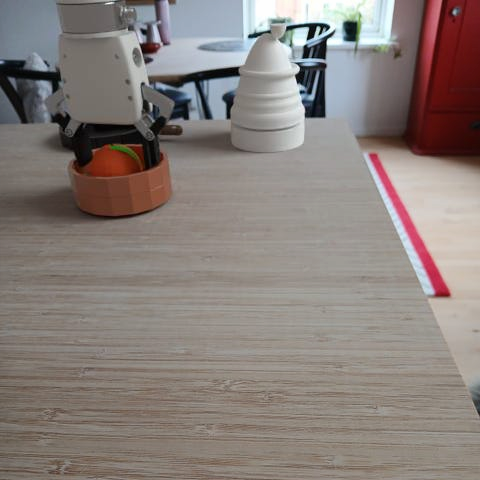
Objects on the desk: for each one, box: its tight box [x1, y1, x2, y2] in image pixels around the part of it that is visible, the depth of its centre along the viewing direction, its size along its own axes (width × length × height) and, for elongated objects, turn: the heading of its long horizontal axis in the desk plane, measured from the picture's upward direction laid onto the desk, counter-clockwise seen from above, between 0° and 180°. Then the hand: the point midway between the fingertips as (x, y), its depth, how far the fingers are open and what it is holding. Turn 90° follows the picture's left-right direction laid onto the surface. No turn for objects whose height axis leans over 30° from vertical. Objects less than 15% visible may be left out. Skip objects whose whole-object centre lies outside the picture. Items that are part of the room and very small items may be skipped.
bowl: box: [66, 144, 173, 217], centre depth 71 cm, size 13×13×6 cm
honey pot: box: [229, 22, 306, 153], centre depth 85 cm, size 13×13×18 cm
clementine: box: [91, 144, 143, 177], centre depth 70 cm, size 8×7×7 cm
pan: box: [58, 123, 184, 151], centre depth 94 cm, size 23×16×3 cm
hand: (119, 165), depth 69 cm, fingers open, 9 cm apart
